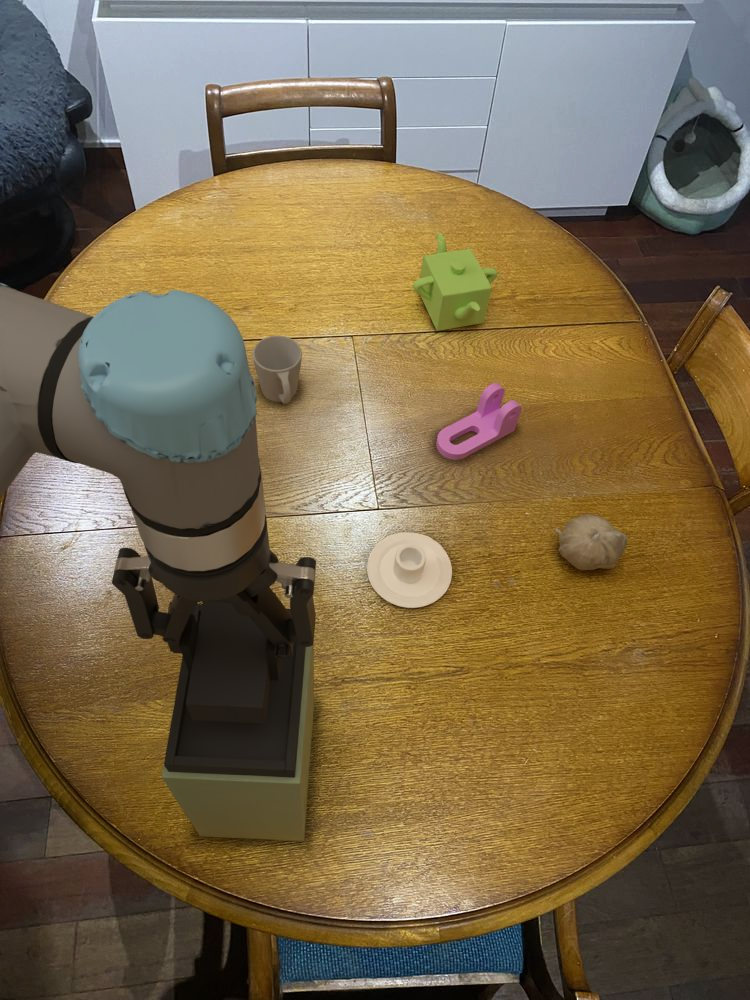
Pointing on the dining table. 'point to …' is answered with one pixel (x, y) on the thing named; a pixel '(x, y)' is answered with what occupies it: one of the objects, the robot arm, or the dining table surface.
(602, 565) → the garlic bulb
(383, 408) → the dining table surface
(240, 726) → the base pad
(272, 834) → the tray
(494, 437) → the bracket
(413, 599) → the candle holder
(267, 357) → the cup
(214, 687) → the top pad
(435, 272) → the green knobbed cube
